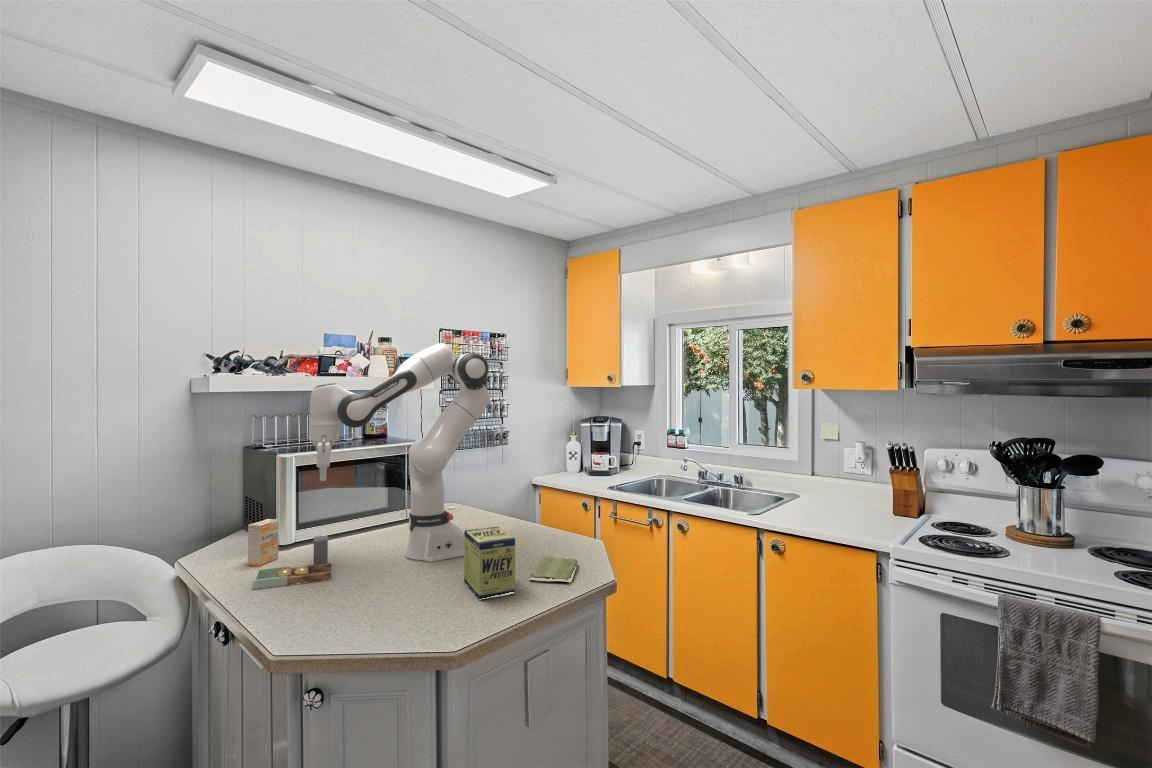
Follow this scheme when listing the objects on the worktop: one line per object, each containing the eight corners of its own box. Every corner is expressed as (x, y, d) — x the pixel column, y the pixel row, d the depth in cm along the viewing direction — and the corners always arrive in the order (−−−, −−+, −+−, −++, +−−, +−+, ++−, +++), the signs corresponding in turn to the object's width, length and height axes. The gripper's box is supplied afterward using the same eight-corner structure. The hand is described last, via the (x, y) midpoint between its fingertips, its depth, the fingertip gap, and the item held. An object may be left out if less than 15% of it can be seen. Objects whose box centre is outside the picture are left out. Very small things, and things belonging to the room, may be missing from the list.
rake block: (327, 563, 178) (327, 535, 178) (327, 568, 173) (327, 539, 173) (314, 564, 176) (314, 536, 176) (313, 570, 171) (313, 541, 171)
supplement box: (260, 566, 174) (260, 525, 174) (247, 565, 175) (247, 524, 175) (279, 558, 182) (279, 519, 182) (266, 557, 183) (266, 518, 183)
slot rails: (331, 569, 172) (331, 562, 172) (331, 579, 163) (331, 572, 163) (289, 574, 168) (289, 567, 168) (287, 585, 158) (287, 578, 158)
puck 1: (291, 577, 165) (291, 567, 165) (291, 581, 162) (291, 571, 162) (278, 579, 164) (278, 569, 164) (277, 583, 160) (277, 572, 160)
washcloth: (527, 584, 162) (527, 573, 162) (540, 564, 179) (540, 554, 179) (571, 586, 160) (571, 575, 160) (580, 566, 177) (580, 556, 177)
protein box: (479, 601, 148) (479, 543, 148) (463, 582, 161) (463, 529, 161) (516, 594, 152) (516, 538, 152) (497, 577, 166) (497, 525, 166)
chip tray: (289, 574, 168) (289, 566, 168) (287, 585, 158) (287, 576, 158) (257, 578, 164) (257, 569, 164) (253, 589, 155) (253, 580, 155)
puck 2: (308, 575, 167) (308, 565, 167) (308, 579, 164) (308, 569, 164) (295, 577, 165) (295, 567, 165) (294, 581, 162) (294, 570, 162)
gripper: (335, 437, 167) (334, 483, 167) (334, 431, 185) (333, 472, 185) (312, 437, 164) (311, 484, 164) (314, 431, 183) (313, 473, 183)
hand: (323, 478), depth 175 cm, fingers open, 8 cm apart
